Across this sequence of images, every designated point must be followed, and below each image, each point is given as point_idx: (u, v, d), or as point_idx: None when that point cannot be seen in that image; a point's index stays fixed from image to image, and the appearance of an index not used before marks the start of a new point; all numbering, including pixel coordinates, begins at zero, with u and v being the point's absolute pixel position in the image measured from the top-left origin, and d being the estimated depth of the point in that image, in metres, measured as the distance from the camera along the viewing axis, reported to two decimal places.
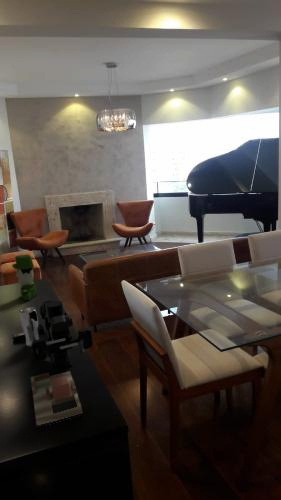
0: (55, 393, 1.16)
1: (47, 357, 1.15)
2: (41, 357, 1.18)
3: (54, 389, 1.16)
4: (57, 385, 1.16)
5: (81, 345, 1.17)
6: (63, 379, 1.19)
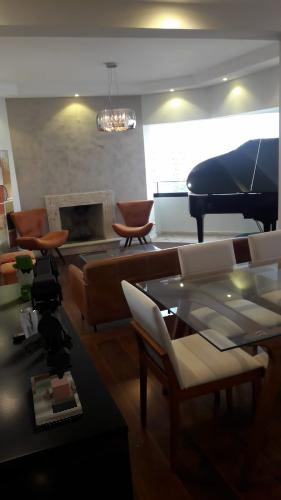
0: (55, 393, 1.16)
1: None
2: None
3: (54, 389, 1.16)
4: (57, 385, 1.16)
5: (56, 372, 1.05)
6: (63, 379, 1.19)
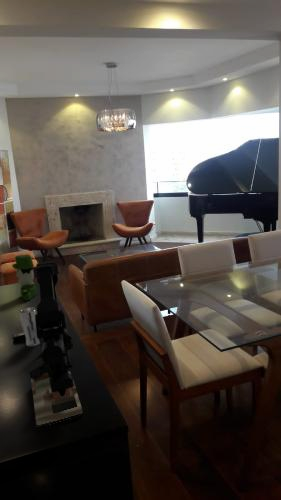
0: (55, 393, 1.16)
1: None
2: None
3: None
4: None
5: None
6: None
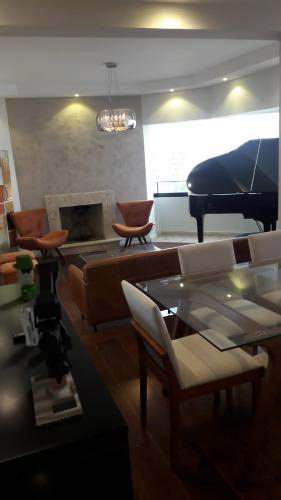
0: (52, 381, 1.23)
1: None
2: None
3: None
4: None
5: (55, 378, 1.21)
6: None
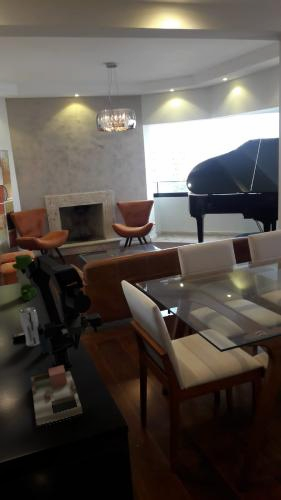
0: (52, 381, 1.23)
1: (71, 342, 1.26)
2: None
3: (52, 377, 1.23)
4: (54, 373, 1.23)
5: (77, 343, 1.25)
6: (60, 368, 1.26)
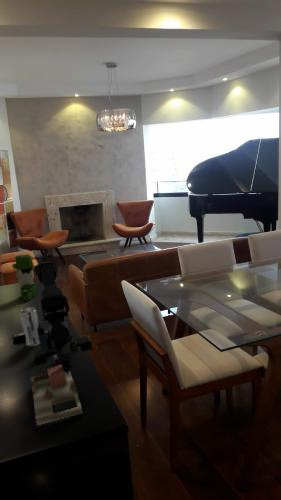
0: (52, 381, 1.23)
1: (64, 367, 1.26)
2: None
3: (51, 377, 1.23)
4: (53, 373, 1.23)
5: (67, 367, 1.25)
6: (59, 368, 1.26)
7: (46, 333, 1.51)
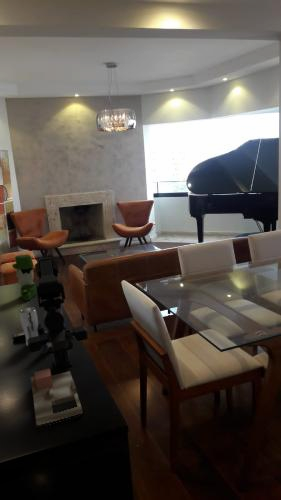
0: (38, 385, 1.22)
1: (57, 356, 1.25)
2: None
3: (37, 381, 1.21)
4: (40, 377, 1.22)
5: (62, 356, 1.24)
6: (46, 372, 1.25)
7: (46, 333, 1.51)
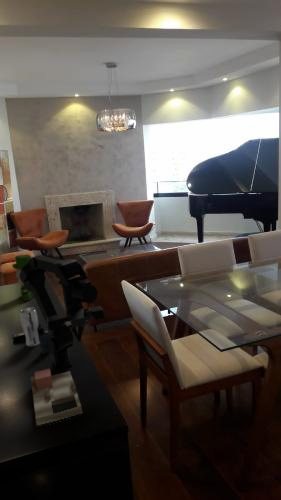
0: (38, 385, 1.22)
1: None
2: None
3: (37, 381, 1.21)
4: (40, 377, 1.22)
5: (80, 335, 1.28)
6: (46, 372, 1.25)
7: (46, 333, 1.51)
